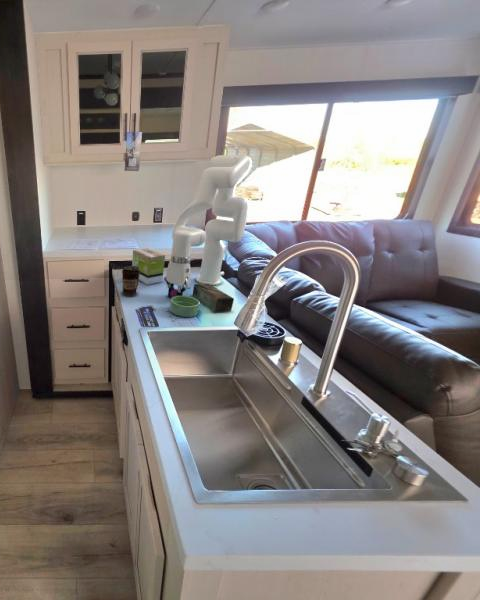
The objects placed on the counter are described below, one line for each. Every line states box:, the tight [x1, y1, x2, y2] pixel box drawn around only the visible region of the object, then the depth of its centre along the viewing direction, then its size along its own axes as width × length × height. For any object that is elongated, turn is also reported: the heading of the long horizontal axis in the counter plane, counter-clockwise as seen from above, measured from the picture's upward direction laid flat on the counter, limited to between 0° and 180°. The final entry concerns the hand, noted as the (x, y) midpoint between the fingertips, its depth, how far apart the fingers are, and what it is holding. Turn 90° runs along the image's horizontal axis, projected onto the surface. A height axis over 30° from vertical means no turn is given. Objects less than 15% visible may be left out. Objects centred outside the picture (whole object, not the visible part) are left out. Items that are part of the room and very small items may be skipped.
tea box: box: [131, 247, 166, 286], centre depth 164 cm, size 15×10×15 cm, turn 25°
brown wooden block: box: [191, 282, 235, 313], centre depth 137 cm, size 8×19×7 cm, turn 11°
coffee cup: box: [121, 265, 140, 297], centre depth 146 cm, size 9×8×13 cm
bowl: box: [169, 295, 201, 318], centre depth 129 cm, size 11×11×5 cm
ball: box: [170, 288, 178, 298], centre depth 143 cm, size 4×4×4 cm
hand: (174, 297), depth 143 cm, fingers closed on ball, 4 cm apart
